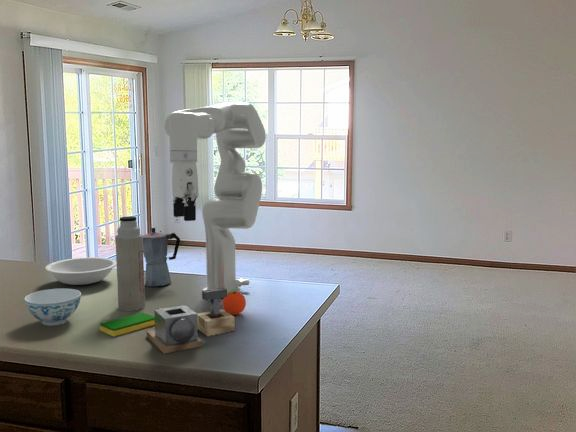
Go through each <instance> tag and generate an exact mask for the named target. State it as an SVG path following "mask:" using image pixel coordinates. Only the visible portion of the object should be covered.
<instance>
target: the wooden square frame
mask: <svg viewBox="0 0 576 432" xmlns="http://www.w3.org/2000/svg"><path fill="white" fill-rule="evenodd" d="M235 319H236V318H235V315H231V314H229V313H227V312H226V311H225V310H224V308H223V309H220V317H218V318H213V319H211V318H210V311H205V312H197V329H198V330H199V331H200V332H201V333H202V334H204V335H206V336H207V337H211V335H212V336H216V335H215V334H218V335H221V334H220V333H223V334H226V333H225V332H228V333H231V332H230V331H234V332H235V331H236V329H235V328H236V326H235V324H236V321H235Z"/></svg>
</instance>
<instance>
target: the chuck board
mask: <svg viewBox="0 0 576 432" xmlns="http://www.w3.org/2000/svg"><path fill="white" fill-rule="evenodd" d="M146 338H147V339H148V340H150V341H151V343H152V344H154V346H156V347H157V348H158V349H159V351H161V352H162V354H169V353H174V352H179V351H183V350H190V349H194V348H195V349H196V348H199V347H203V340H202V339H201V338H199V337H198V340H196V341H191V342H185V343H180V344H175V345H169V346H165V345H164V344H163V343H162V342H161V341H160V340H159V339H158V338H157V337H156V336H155V329H151V330H146Z"/></svg>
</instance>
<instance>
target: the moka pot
mask: <svg viewBox="0 0 576 432" xmlns="http://www.w3.org/2000/svg"><path fill="white" fill-rule="evenodd" d="M150 230H151V232H150V233H146V234H142V236H143V258H144V261H145V276H144V285H145V286H146V287H154V288H155V287H163V286H166V285H167V286H168V285H169V284H171V283H172V280H171V275H170V270H169V266H168V262H167V260H170V261H172V260H176V258H177V255H178V251H179V247H180V243H181V238H180V237H179V236H178V235H177V234H176V233H175V232H172V233H163V232H158V231H157V232H156V227H152V228H150ZM172 239H175V246H174V250H173V254H172V256H169V257H167V256H168V246H169V245H168V244H169V243H168V241H169V240H172Z"/></svg>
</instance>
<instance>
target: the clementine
mask: <svg viewBox="0 0 576 432" xmlns="http://www.w3.org/2000/svg"><path fill="white" fill-rule="evenodd" d="M228 292H229V293H228V294H227V297H225V298H222V308H223V310H224V311H226V312H227V313H229V314H231V315H232V316H236V315H240V314H241V313H242V312H244V310H245V308H246V306H247V302H246V301H247V300H246V297H245V296H244V295H243V293H241V292H240V293H239V292H236V291H228Z"/></svg>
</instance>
